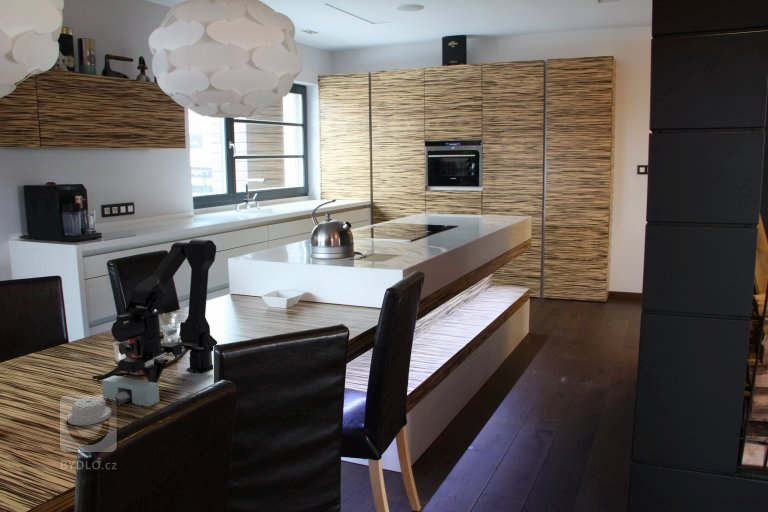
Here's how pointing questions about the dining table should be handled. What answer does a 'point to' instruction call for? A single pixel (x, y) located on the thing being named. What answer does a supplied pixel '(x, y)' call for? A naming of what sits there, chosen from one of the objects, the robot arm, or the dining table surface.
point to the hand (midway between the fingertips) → (153, 386)
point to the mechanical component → (89, 411)
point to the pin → (124, 397)
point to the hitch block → (141, 390)
